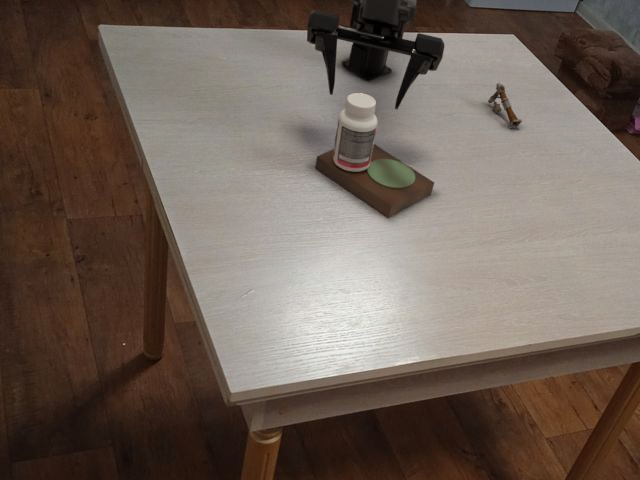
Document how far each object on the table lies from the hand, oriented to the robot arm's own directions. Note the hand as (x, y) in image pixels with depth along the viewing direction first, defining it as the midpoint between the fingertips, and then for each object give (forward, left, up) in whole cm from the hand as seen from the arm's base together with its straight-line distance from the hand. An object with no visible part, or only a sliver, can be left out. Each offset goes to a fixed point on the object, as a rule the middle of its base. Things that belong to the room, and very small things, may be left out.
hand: (363, 101), depth 114 cm
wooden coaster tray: (+1, +5, -10) cm, 11 cm away
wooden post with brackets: (-33, +5, -10) cm, 35 cm away
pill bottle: (+2, +2, -8) cm, 9 cm away
